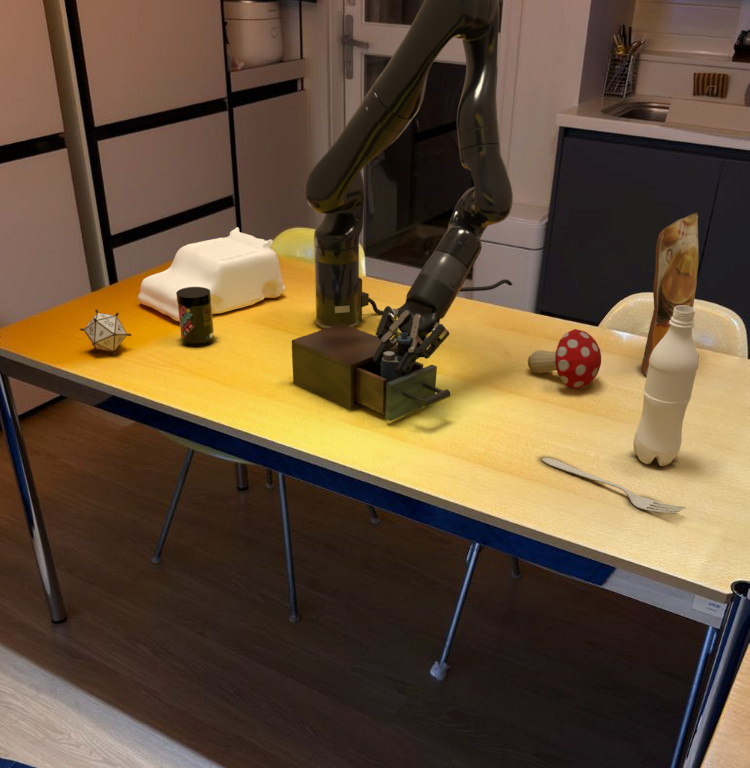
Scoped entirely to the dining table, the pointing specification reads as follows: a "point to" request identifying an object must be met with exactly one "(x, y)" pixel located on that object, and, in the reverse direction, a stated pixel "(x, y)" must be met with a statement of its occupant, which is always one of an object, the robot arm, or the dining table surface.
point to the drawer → (397, 390)
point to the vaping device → (394, 358)
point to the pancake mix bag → (672, 277)
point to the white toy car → (217, 274)
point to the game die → (105, 332)
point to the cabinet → (332, 361)
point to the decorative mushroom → (570, 359)
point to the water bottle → (667, 390)
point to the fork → (635, 499)
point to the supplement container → (195, 316)
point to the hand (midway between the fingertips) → (388, 368)
